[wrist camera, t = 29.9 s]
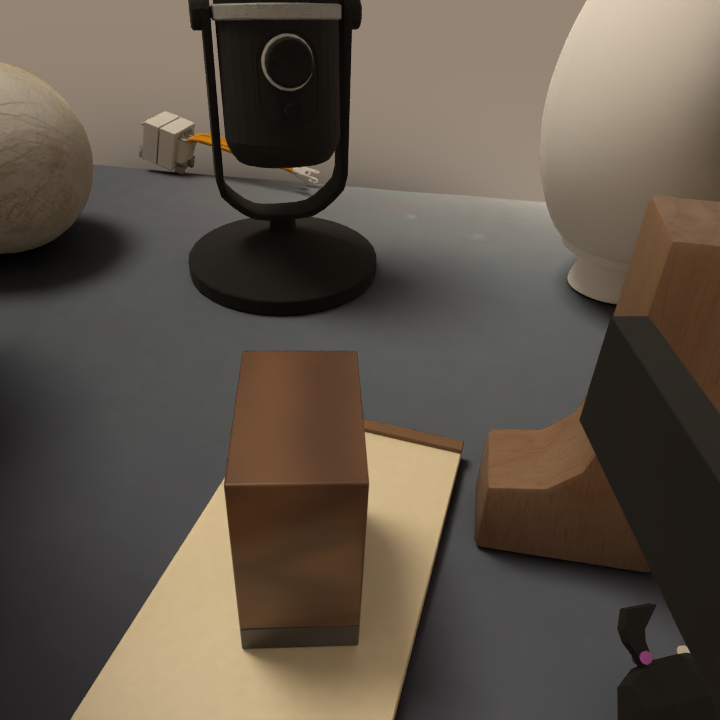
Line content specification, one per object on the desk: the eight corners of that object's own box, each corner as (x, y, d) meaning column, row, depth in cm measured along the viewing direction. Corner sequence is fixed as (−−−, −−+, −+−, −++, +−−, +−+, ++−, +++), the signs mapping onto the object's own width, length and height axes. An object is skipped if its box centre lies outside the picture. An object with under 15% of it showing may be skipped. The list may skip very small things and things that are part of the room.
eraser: (241, 649, 29) (223, 486, 23) (254, 506, 36) (242, 350, 30) (358, 646, 29) (369, 483, 24) (350, 505, 36) (357, 349, 30)
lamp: (482, 291, 56) (579, -290, 36) (553, 227, 67) (659, -248, 46) (681, 360, 49) (944, -311, 29) (725, 276, 60) (939, -256, 40)
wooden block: (473, 548, 35) (541, 225, 25) (475, 485, 39) (535, 180, 28) (653, 577, 34) (805, 253, 24) (638, 509, 38) (764, 202, 27)
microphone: (195, 325, 51) (132, -192, 33) (185, 233, 63) (136, -179, 46) (398, 304, 54) (437, -173, 37) (351, 221, 67) (365, -166, 49)
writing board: (50, 771, 26) (42, 755, 25) (273, 413, 43) (272, 398, 42) (352, 884, 23) (353, 870, 23) (461, 457, 41) (464, 441, 40)
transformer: (308, 175, 69) (326, 160, 73) (136, 105, 71) (163, 93, 75) (297, 226, 73) (314, 208, 77) (134, 158, 75) (159, 144, 79)
